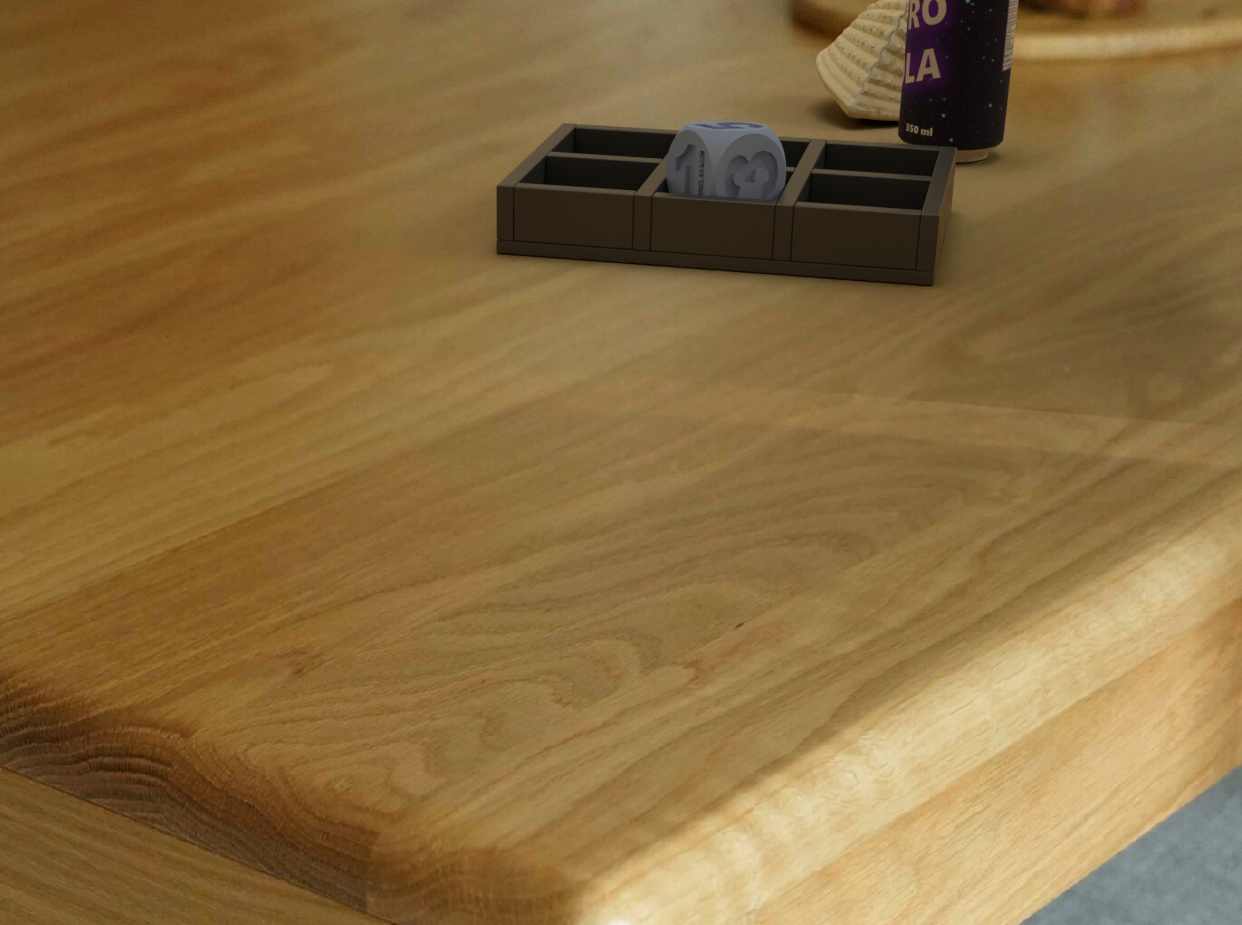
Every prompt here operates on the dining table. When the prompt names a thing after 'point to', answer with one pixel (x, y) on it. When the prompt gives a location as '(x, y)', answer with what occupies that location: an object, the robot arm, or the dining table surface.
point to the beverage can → (957, 74)
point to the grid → (731, 208)
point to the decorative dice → (727, 160)
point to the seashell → (868, 62)
